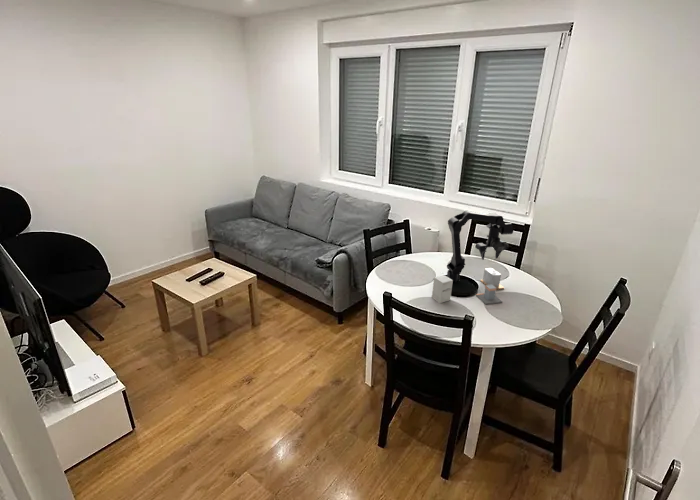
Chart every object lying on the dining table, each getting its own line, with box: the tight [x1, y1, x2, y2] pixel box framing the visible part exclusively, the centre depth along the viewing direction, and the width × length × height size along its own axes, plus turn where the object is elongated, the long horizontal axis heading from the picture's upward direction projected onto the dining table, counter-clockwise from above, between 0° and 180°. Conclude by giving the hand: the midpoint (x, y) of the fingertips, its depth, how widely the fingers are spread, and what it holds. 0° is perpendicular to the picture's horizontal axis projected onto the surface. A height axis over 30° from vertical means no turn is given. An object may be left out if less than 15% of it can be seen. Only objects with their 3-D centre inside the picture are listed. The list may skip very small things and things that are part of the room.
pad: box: [475, 292, 503, 306], centre depth 211 cm, size 10×10×1 cm
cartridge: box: [484, 285, 497, 300], centre depth 209 cm, size 4×4×7 cm
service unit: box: [479, 267, 505, 291], centre depth 224 cm, size 8×12×9 cm, turn 14°
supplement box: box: [431, 274, 453, 304], centre depth 208 cm, size 7×7×13 cm
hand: (489, 259), depth 229 cm, fingers open, 9 cm apart
